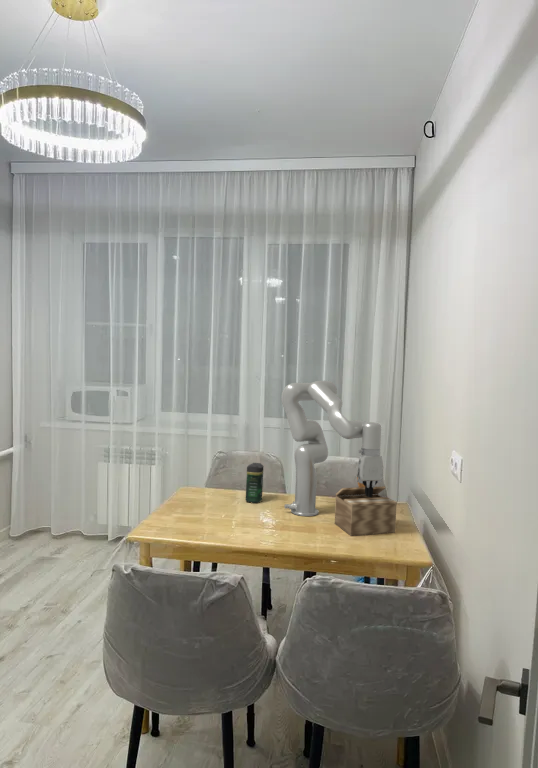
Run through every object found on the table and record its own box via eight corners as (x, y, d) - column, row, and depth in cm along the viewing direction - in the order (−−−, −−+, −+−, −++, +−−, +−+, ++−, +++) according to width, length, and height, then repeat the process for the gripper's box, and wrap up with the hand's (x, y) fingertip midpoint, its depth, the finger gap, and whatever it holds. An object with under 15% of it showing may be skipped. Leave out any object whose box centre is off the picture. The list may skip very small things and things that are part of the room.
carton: (350, 536, 209) (352, 503, 209) (334, 523, 224) (335, 493, 224) (395, 533, 215) (396, 501, 214) (376, 521, 230) (377, 492, 230)
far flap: (342, 489, 218) (339, 476, 220) (335, 495, 224) (333, 483, 227) (385, 488, 223) (382, 475, 226) (377, 494, 230) (374, 481, 232)
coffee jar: (259, 504, 251) (261, 465, 250) (243, 502, 253) (245, 464, 252) (263, 499, 261) (265, 462, 260) (248, 497, 262) (249, 461, 261)
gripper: (358, 454, 210) (356, 499, 211) (391, 453, 214) (389, 498, 215) (350, 451, 217) (348, 494, 218) (382, 450, 221) (380, 493, 222)
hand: (368, 496), depth 216 cm, fingers closed
